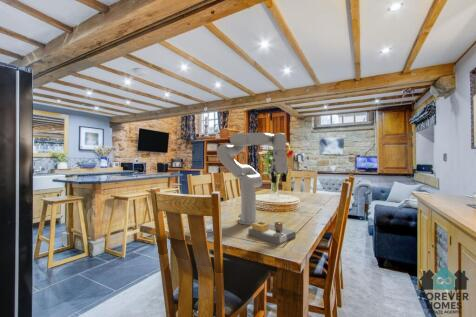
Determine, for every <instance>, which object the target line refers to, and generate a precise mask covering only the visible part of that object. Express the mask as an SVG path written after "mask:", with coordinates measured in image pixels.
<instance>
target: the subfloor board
mask: <svg viewBox="0 0 476 317" xmlns="http://www.w3.org/2000/svg"><path fill="white" fill-rule="evenodd" d="M268 224H269V230H266V231H263V232H260V231H257V230H254V229H252V227H250V228H248V232H247V233H248V235H249V236H252V237H255V238H258V239H261V240H263V241H266V242H269V243H272V244H275V245H279V244H282V243H285V242H287V241H289V240H292V239H294V238H296V235H297V234H296V232H297V231H295V230H291V229H288V228H285V227H282V232H281V236H280V237H279V236H276V231H275V224H271V223H268Z"/></svg>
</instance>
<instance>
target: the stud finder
mask: <svg viewBox="0 0 476 317" xmlns="http://www.w3.org/2000/svg"><path fill="white" fill-rule="evenodd" d="M269 224H270V223H266V222H262V221H258V222H256V223H252V225H251V228H252V229H254V230H257V231H260V232H263V231H266V230H269Z"/></svg>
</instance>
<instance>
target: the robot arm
mask: <svg viewBox="0 0 476 317" xmlns="http://www.w3.org/2000/svg"><path fill="white" fill-rule="evenodd" d="M229 142H230V144H229V143H227V144H226V143H223V144H220V145H218V147H217V149H216V156H217V159H218V161H219V162H220V163H221V164H222V166H224V167H225V168H226V169H227V170H228V172H230V173H231V175H233V176H234V178H235V179H239V180H240V181H239V186H240V192H241V194H240V195H241V198H240V199H241V202H240V203H241V204H240V206H241V209H240V210H241V212H240V214H239V215H238V216H237V217H238V218H240V219H239V220H238V223H239V224H241V225H246V226H252V223H256V222H259V220H258V219H257V216H256V215H257V213H256V212H257V209H256V208H257V202H256V201H257V197H256V191H255V189H258V188H260V187H261V186H263V182H264V181H263V178H262V175H261V174H260V173H259V172H257V171H256V170H255V169H254V168H253V167H252V166H251V165H249V164H241V163H239V162H238V161H237V160H236V159H235V158H234V157H237V156H238V155H239V154H240V153H241V152H242V151H243V150H244V149H245V147H246V146H247V147H250V146H266V147H267V146H269V147H271V146H272V158H271V159H272V160H271V167H270V168H268V171H269V174H270V177H271V178H270V180H271V182H270V183H272V184H276V183H277V174H281V183H286V182H287V176H288V174H289V167H288V159H287V154H286V153H287V152H286V149H287V147H286V146H287V135H286V133H284V132H283V133H282V132H277V133H268V132H245V133H244V132H237V133H236V132H235V133H233V134H232V135H230V137H229Z"/></svg>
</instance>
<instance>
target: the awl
mask: <svg viewBox="0 0 476 317" xmlns="http://www.w3.org/2000/svg"><path fill="white" fill-rule="evenodd" d="M274 226H275V231H276V236H279V237H280V236H281V232H282V228H283V222H280V221H275V222H274Z"/></svg>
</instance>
